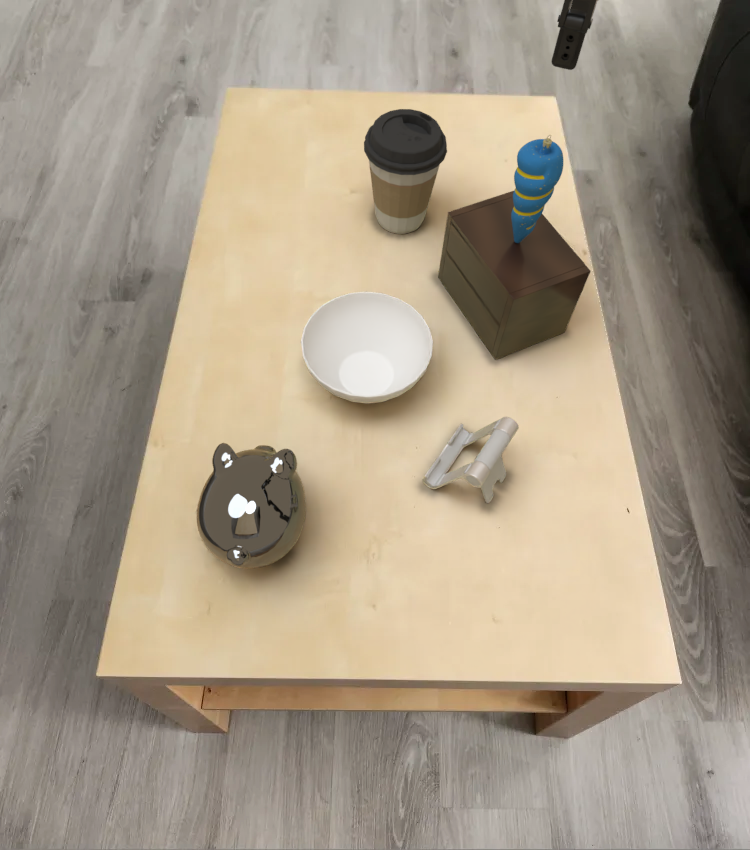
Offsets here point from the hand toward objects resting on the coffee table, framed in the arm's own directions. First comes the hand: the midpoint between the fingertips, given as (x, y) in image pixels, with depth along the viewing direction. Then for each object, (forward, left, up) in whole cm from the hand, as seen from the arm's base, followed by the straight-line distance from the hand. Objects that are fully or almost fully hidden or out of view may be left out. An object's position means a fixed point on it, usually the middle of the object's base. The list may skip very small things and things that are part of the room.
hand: (572, 40), depth 63 cm
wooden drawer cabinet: (0, 0, -37) cm, 37 cm away
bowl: (+22, +3, -37) cm, 43 cm away
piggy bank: (+42, +17, -37) cm, 59 cm away
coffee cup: (+5, -21, -37) cm, 43 cm away
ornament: (0, 0, -25) cm, 25 cm away
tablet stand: (+17, +21, -37) cm, 46 cm away
